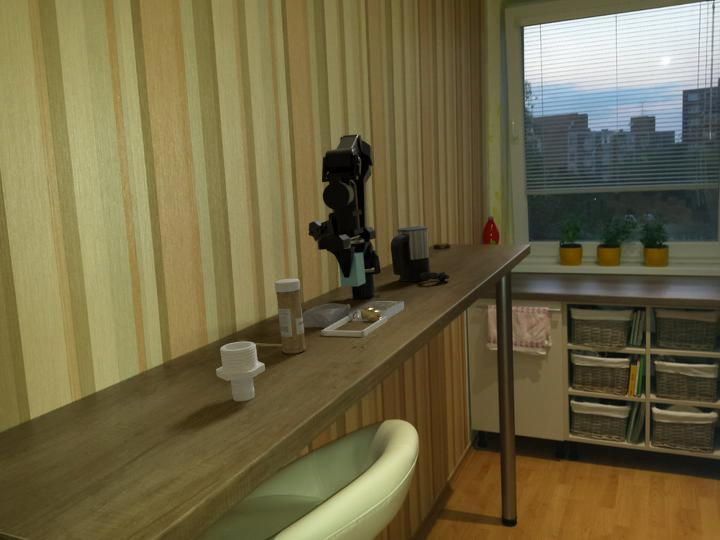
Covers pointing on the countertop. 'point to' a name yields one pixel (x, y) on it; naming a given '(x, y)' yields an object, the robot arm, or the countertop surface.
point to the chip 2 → (373, 315)
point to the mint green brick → (355, 272)
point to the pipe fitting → (240, 368)
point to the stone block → (325, 315)
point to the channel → (385, 306)
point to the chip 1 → (365, 311)
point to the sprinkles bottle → (290, 315)
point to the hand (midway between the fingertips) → (351, 275)
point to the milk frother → (412, 255)
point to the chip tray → (332, 332)
